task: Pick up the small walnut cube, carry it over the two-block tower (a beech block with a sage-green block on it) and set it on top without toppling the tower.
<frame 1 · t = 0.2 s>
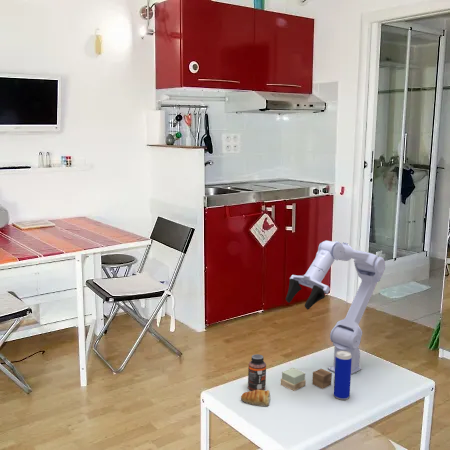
hand: (296, 304, 175), 31 cm above the table, tool tilted 45°, fingers open, 7 cm apart
pastry: (257, 402, 175), on the table
walnut cube: (321, 384, 187), on the table
beverage can: (341, 397, 179), on the table
tower top: (293, 379, 186), point 2 cm above the table
tower base: (292, 386, 186), on the table
supplement bottle: (256, 388, 184), on the table
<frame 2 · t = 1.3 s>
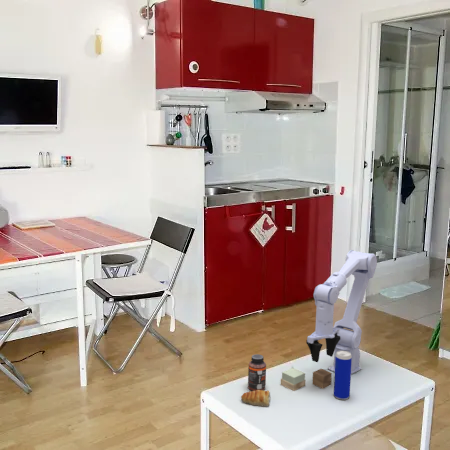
hand: (322, 358, 185), 10 cm above the table, tool pointing down, fingers open, 7 cm apart
tower top: (293, 379, 186), point 2 cm above the table, touching tower base
tower base: (292, 386, 186), on the table, touching tower top
everything else where it was.
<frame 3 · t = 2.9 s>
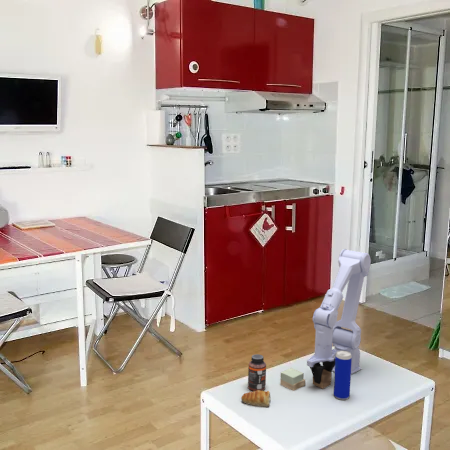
hand: (321, 380, 187), 1 cm above the table, tool pointing down, fingers closed on walnut cube, 4 cm apart
walnut cube: (321, 384, 187), on the table, touching gripper
everything else where it was.
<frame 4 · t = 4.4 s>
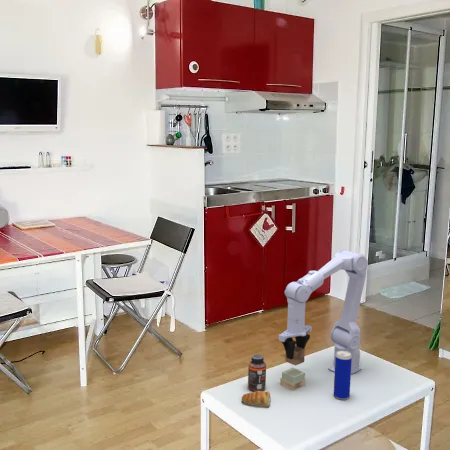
hand: (294, 356, 185), 10 cm above the table, tool pointing down, fingers closed on walnut cube, 4 cm apart
walnut cube: (294, 361, 185), point 9 cm above the table, touching gripper
everything else where it was.
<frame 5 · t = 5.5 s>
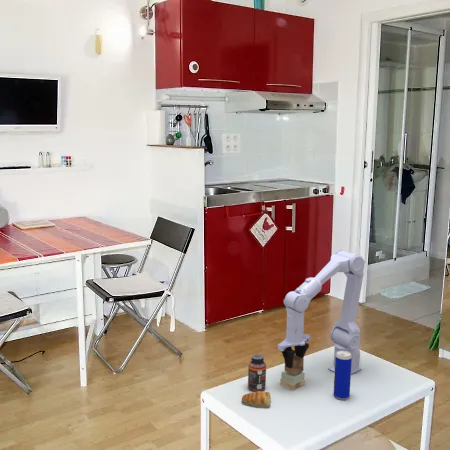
hand: (293, 365, 185), 7 cm above the table, tool pointing down, fingers closed on walnut cube, 4 cm apart
walnut cube: (293, 370, 185), point 5 cm above the table, touching gripper
when the fingers open (7 cm above the table, at t = 5.6 s): walnut cube stays where it is, resting on tower top.
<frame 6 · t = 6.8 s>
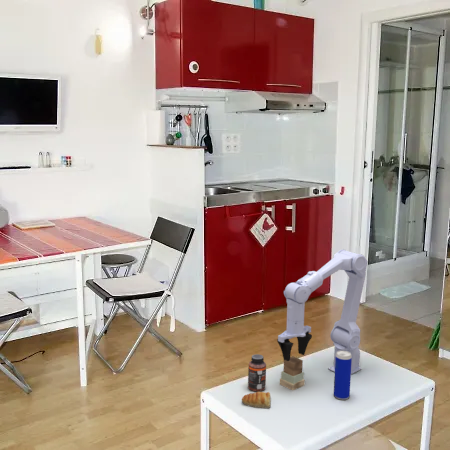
hand: (294, 357, 185), 10 cm above the table, tool pointing down, fingers open, 7 cm apart
walnut cube: (292, 372, 186), point 5 cm above the table, touching tower top
tower top: (292, 378, 187), point 2 cm above the table, touching tower base, walnut cube
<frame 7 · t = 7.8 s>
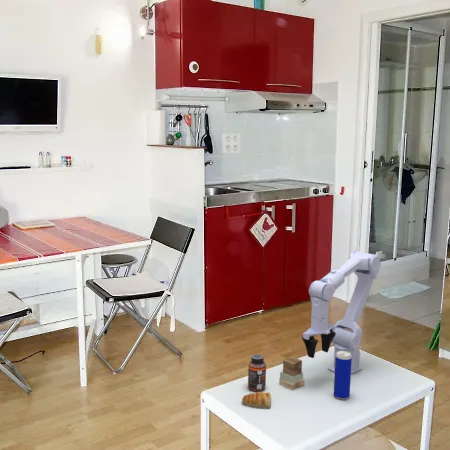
hand: (318, 354, 187), 10 cm above the table, tool pointing down, fingers open, 7 cm apart
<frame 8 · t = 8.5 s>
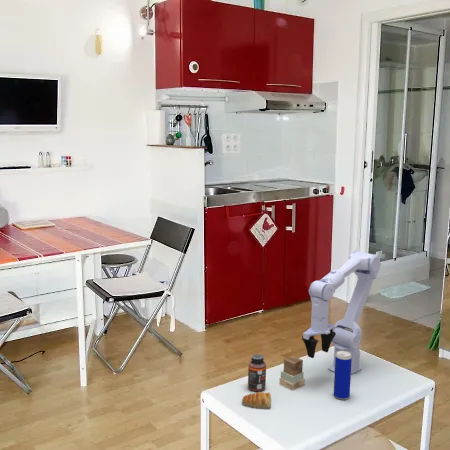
hand: (318, 354, 187), 10 cm above the table, tool pointing down, fingers open, 7 cm apart
walnut cube: (292, 372, 186), point 5 cm above the table
tower top: (291, 378, 187), point 2 cm above the table, touching tower base
at the end: walnut cube 0.3 cm off-centre on the tower base, point 5.0 cm above the tower base's base; tower top tilted 0°; walnut cube tilted 0° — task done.
